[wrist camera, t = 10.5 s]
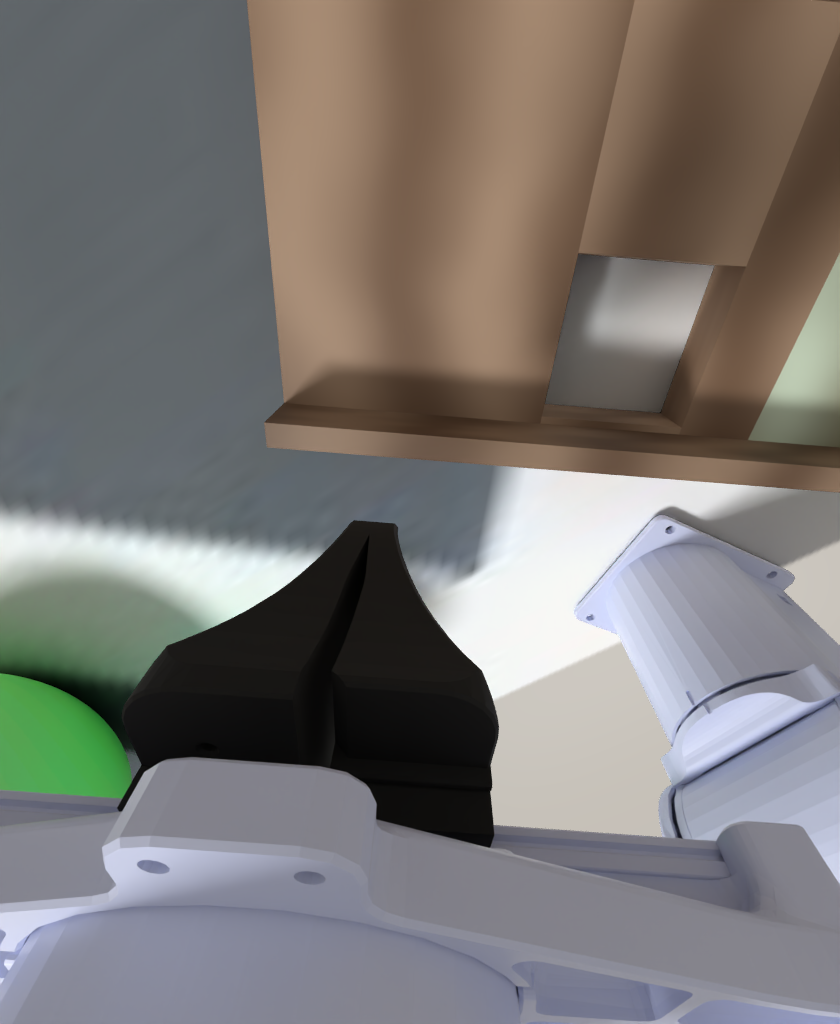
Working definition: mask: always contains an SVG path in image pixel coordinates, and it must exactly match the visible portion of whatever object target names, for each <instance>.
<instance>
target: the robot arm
mask: <svg viewBox="0 0 840 1024" xmlns="http://www.w3.org/2000/svg"><path fill="white" fill-rule="evenodd" d="M668 526H672V527H671V528H670V529H668V530H666V528H667V527H668ZM769 572H770V573H769ZM794 579H795V577H794V575H793V574H792V573H790V572H789V571H788V570H786V569H783V568H781V567H779V566H777V565H774V564H772V563H770V562H768V561H766V560H763V559H761V558H759V557H757V556H755V555H752V554H750V553H748V552H746V551H743V550H741V549H739V548H737V547H735V546H732V545H730V544H728V543H726V542H723V541H721V540H719V539H717V538H715V537H712V536H710V535H708V534H706V533H703V532H701V531H699V530H697V529H695V528H692V527H690V526H688V525H686V524H683V523H681V522H679V521H677V520H675V519H672V518H670V517H668V516H665V515H659V516H656V517H655V518H653V519H652V520H651V521H650V523H649V524H648V525H647V526H646V527H645V528H644V530H643V531H642V532H641V533H640V534H639V535H638V536H637V538H636V539H635V540H634V541H633V542H632V543H631V545H630V546H629V547H628V548H627V549H626V550H625V551H624V553H623V554H622V555H621V556H620V557H619V558H618V559H617V561H616V562H615V563H614V564H613V565H612V566H611V568H610V569H609V570H608V571H607V572H606V573H605V574H604V576H603V577H602V578H601V579H600V580H599V581H598V583H597V584H596V585H595V586H594V587H593V588H592V589H591V591H590V592H589V593H588V594H587V595H586V596H585V598H584V599H583V600H582V601H581V602H580V603H579V604H578V606H577V607H576V608H575V610H574V614H575V617H576V618H577V619H578V620H580V621H583V622H586V623H588V624H591V625H594V626H596V627H599V628H602V629H604V630H607V631H610V632H612V633H615V634H618V636H619V638H620V640H621V642H622V644H623V646H624V648H625V650H626V652H627V654H628V656H629V659H630V661H631V663H632V665H633V667H634V669H635V671H636V673H637V675H638V677H639V679H640V681H641V684H642V686H643V688H644V690H645V692H646V694H647V696H648V698H649V700H650V702H651V704H652V707H653V709H654V711H655V713H656V715H657V717H658V719H659V721H660V723H661V725H662V727H663V729H664V732H665V734H666V736H667V738H668V740H669V742H670V744H671V746H672V748H671V750H670V751H669V752H668V753H667V754H665V755H664V756H663V757H661V761H662V763H663V765H664V768H665V769H666V772H667V774H668V776H669V779H670V781H671V783H672V785H670V786H669V787H667V788H666V789H665V790H664V791H663V793H662V794H661V797H660V800H659V820H660V827H661V832H662V837H653V836H639V835H625V834H611V833H596V832H583V831H570V830H555V829H542V828H541V829H540V828H528V827H513V826H500V825H493V815H492V805H491V795H490V791H491V789H492V776H491V767H490V765H491V761H492V757H493V754H494V750H495V747H496V743H497V740H498V732H499V725H498V718H497V714H496V710H495V706H494V703H493V699H492V696H491V693H490V690H489V687H488V685H487V682H486V680H485V677H484V675H483V673H482V670H481V669H480V668H478V667H477V666H476V665H475V664H474V663H473V662H472V661H471V660H470V659H469V658H468V657H467V656H466V655H465V654H464V653H463V652H462V651H461V650H460V649H459V648H458V647H457V646H456V645H455V644H454V643H453V641H452V640H451V639H450V638H449V637H448V636H447V634H446V633H445V632H444V630H443V629H442V628H441V627H440V625H439V624H438V623H437V621H436V620H435V619H434V617H433V616H432V614H431V613H430V611H429V610H428V608H427V607H426V605H425V603H424V602H423V600H422V598H421V597H420V595H419V593H418V591H417V589H416V587H415V585H414V583H413V581H412V579H411V577H410V574H409V572H408V569H407V567H406V564H405V561H404V558H403V556H402V552H401V549H400V545H399V540H398V527H397V526H396V525H395V524H393V523H380V522H367V521H353V522H351V523H350V524H349V525H348V527H347V528H346V529H345V530H344V531H343V533H342V534H341V535H340V536H339V537H338V538H337V539H336V540H335V542H334V543H333V544H332V545H331V546H330V547H329V548H328V549H327V550H326V551H325V552H324V553H323V554H322V555H321V556H320V557H319V558H318V559H317V560H316V561H315V562H314V563H312V564H311V565H310V566H309V567H308V568H307V569H306V570H305V571H303V572H302V573H301V574H300V575H299V576H298V577H296V578H295V579H294V580H293V581H291V582H290V583H289V584H287V585H286V586H285V587H283V588H282V589H281V590H279V591H278V592H276V593H275V594H273V595H272V596H270V597H268V598H267V599H265V600H263V601H262V602H260V603H259V604H257V605H255V606H254V607H252V608H250V609H249V610H247V611H245V612H243V613H241V614H239V615H237V616H235V617H233V618H232V619H229V620H227V621H225V622H223V623H221V624H219V625H217V626H215V627H213V628H210V629H208V630H206V631H203V632H201V633H198V634H196V635H193V636H191V637H188V638H186V639H184V640H181V641H179V642H176V643H173V644H171V645H168V646H167V647H166V648H165V649H164V651H163V652H162V653H161V654H160V655H159V657H158V658H157V659H156V660H155V661H154V663H153V664H152V665H151V667H150V668H149V670H148V671H147V672H146V674H145V675H144V677H143V678H142V680H141V681H140V683H139V684H138V685H137V687H136V688H135V690H134V691H133V693H132V694H131V696H130V697H129V699H128V700H127V701H126V703H125V704H124V707H123V711H122V720H123V724H124V727H125V730H126V732H127V734H128V736H129V739H130V741H131V743H132V745H133V747H134V749H135V751H136V753H137V756H138V758H139V760H140V762H141V764H142V765H141V767H140V769H139V770H138V772H137V774H136V776H135V777H134V779H133V781H132V783H131V784H130V786H129V788H128V789H127V791H126V793H125V795H124V796H123V798H109V797H95V796H81V795H67V794H53V793H39V792H25V791H11V790H0V1024H840V645H838V643H837V642H835V641H834V640H833V639H832V638H831V637H830V636H829V635H828V634H827V633H826V632H825V631H824V630H823V629H822V628H821V627H820V626H819V625H818V624H817V623H816V622H815V621H814V620H813V619H812V618H811V617H810V616H809V615H808V614H807V613H805V612H804V611H803V610H802V609H801V608H800V607H799V606H798V605H797V604H796V603H795V602H794V601H793V600H792V599H791V598H790V597H789V596H788V595H787V594H786V593H785V592H784V590H785V589H786V588H787V587H788V586H789V585H791V584H792V582H793V581H794ZM591 614H592V615H591ZM588 615H591V616H588Z"/></svg>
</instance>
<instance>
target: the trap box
mask: <svg viewBox="0 0 840 1024" xmlns="http://www.w3.org/2000/svg"><path fill="white" fill-rule="evenodd" d="M247 5H248V16H249V27H250V38H251V49H252V59H253V70H254V81H255V92H256V103H257V113H258V124H259V135H260V146H261V157H262V168H263V178H264V189H265V200H266V211H267V222H268V233H269V243H270V254H271V265H272V276H273V287H274V297H275V308H276V319H277V330H278V341H279V352H280V362H281V373H282V384H283V395H284V404H283V405H282V406H281V407H280V408H279V409H278V410H277V411H276V412H275V413H274V414H273V415H272V416H271V417H269V418H268V419H267V420H266V421H265V422H264V425H265V434H266V442H267V447H269V448H281V449H294V450H307V451H320V452H332V453H345V454H358V455H370V456H383V457H396V458H408V459H421V460H434V461H446V462H459V463H472V464H484V465H497V466H510V467H523V468H535V469H548V470H561V471H573V472H586V473H599V474H611V475H624V476H637V477H649V478H662V479H675V480H687V481H700V482H713V483H726V484H738V485H751V486H764V487H776V488H789V489H802V490H814V491H827V492H840V0H247ZM578 254H583V255H595V256H607V257H619V258H631V259H643V260H655V261H667V262H679V263H691V264H703V265H715V266H714V269H713V272H712V275H711V277H710V280H709V283H708V286H707V288H706V291H705V294H704V296H703V299H702V302H701V305H700V307H699V310H698V313H697V315H696V318H695V321H694V324H693V326H692V329H691V332H690V334H689V337H688V340H687V343H686V345H685V348H684V351H683V353H682V356H681V359H680V362H679V364H678V367H677V370H676V373H675V375H674V378H673V381H672V383H671V386H670V389H669V392H668V394H667V397H666V400H665V402H664V405H663V408H662V411H661V413H652V412H640V411H627V410H615V409H602V408H590V407H577V406H565V405H552V404H545V400H546V396H547V391H548V387H549V382H550V378H551V373H552V369H553V364H554V360H555V355H556V351H557V346H558V342H559V337H560V333H561V328H562V324H563V320H564V315H565V311H566V306H567V302H568V297H569V293H570V288H571V284H572V279H573V275H574V270H575V266H576V261H577V257H578Z"/></svg>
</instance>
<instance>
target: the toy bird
mask: <svg viewBox="0 0 840 1024" xmlns="http://www.w3.org/2000/svg"><path fill="white" fill-rule="evenodd" d="M131 783H132V778H131V770H130V765H129V761H128V758H127V755H126V753H125V750H124V748H123V746H122V744H121V742H120V740H119V739H118V737H117V736H116V734H115V733H114V731H113V730H112V729H111V727H110V726H109V725H108V724H107V723H106V722H105V721H104V719H103V718H102V717H101V716H99V715H98V714H97V713H96V712H95V711H94V710H93V709H91V708H90V707H89V706H87V705H86V704H85V703H83V702H82V701H80V700H78V699H77V698H75V697H73V696H72V695H70V694H68V693H66V692H64V691H62V690H60V689H57V688H55V687H53V686H50V685H47V684H45V683H42V682H39V681H35V680H32V679H28V678H24V677H20V676H15V675H9V674H1V673H0V790H11V791H25V792H39V793H53V794H67V795H81V796H95V797H109V798H123V796H124V795H125V793H126V791H127V789H128V788H129V786H130V784H131Z"/></svg>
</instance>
